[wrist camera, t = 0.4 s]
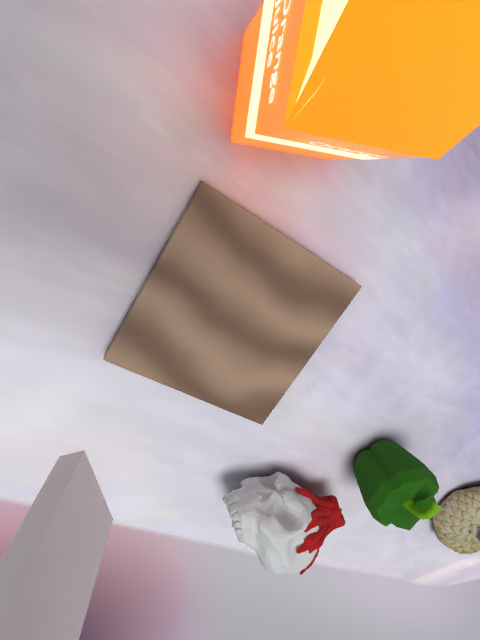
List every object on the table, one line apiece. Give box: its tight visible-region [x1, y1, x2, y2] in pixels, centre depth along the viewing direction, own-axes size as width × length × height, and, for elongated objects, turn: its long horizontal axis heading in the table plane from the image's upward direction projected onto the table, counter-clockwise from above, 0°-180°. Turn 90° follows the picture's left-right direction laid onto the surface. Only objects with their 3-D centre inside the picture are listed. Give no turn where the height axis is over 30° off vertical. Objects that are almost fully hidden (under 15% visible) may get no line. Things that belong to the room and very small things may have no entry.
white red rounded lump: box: [223, 472, 345, 575], centre depth 43 cm, size 9×11×15 cm
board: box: [103, 181, 362, 425], centre depth 35 cm, size 18×18×2 cm
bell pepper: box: [354, 440, 441, 530], centre depth 43 cm, size 8×8×10 cm
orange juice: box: [230, 0, 480, 160], centre depth 21 cm, size 8×9×20 cm
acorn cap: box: [432, 486, 480, 554], centre depth 54 cm, size 10×11×10 cm
